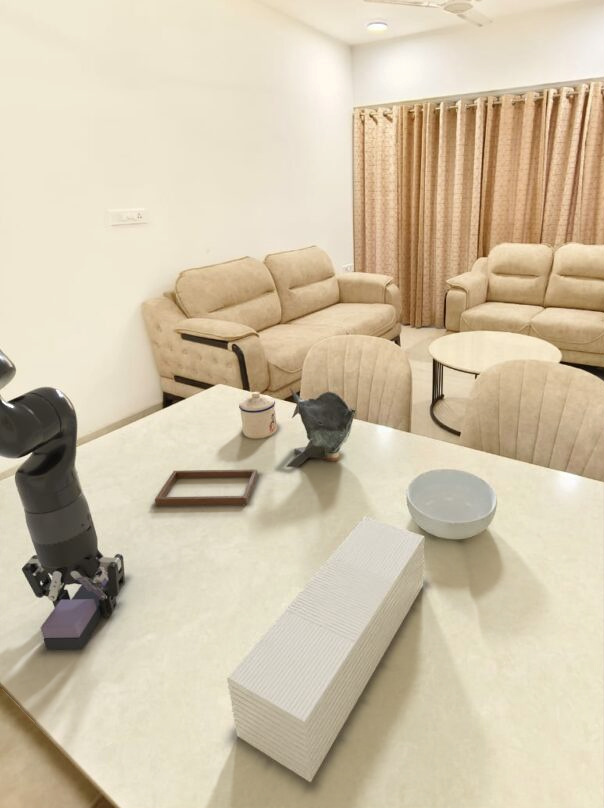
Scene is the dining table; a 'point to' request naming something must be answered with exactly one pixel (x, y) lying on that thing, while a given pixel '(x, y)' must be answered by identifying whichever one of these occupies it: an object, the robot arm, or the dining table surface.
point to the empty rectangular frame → (206, 500)
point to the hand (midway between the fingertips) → (88, 612)
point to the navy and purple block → (72, 621)
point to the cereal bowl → (451, 503)
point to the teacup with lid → (258, 416)
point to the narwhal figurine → (322, 426)
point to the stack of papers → (326, 646)
